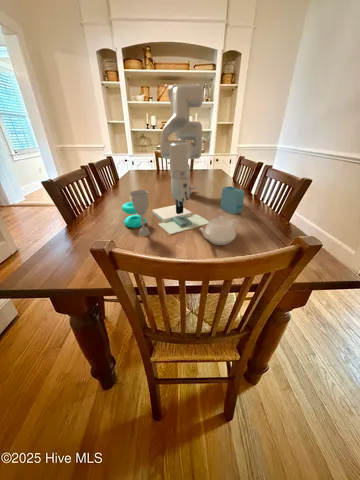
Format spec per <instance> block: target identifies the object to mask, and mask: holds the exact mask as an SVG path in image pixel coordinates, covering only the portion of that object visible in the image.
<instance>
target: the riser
mask: <svg viewBox="0 0 360 480" xmlns="http://www.w3.org/2000/svg"><path fill="white" fill-rule="evenodd" d="M151 213H152V215H153V216H155V218H157V219H158V220H159V221H160V222H161V223H163V222H167V221H171V220H172V217H177V216H181V215H183V216H185V217H187V216H191V215H193V212H192V211H190V210H188V209H186V208H185V207H183V213H181V214H177V213H176V205H175V204H174V205H169V206H163V207H160V208H155V209H154V208H153V209H151Z"/></svg>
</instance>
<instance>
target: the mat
mask: <svg viewBox="0 0 360 480" xmlns="http://www.w3.org/2000/svg"><path fill="white" fill-rule="evenodd" d="M186 218H187V219H189V220H190V221H192V225H189V226H185V227H181V228H180V227H179V226H178V225H177V224H176V223H174V222H173V221H172V220H171V221H167V222H159V223H157V225H158V226H159V227H160V228H161V229H163V230H164V231H165V232H166V233H167V234H168V235H170V236H171V235H173V234H177V233H181V232H184V231H189V230H191V229H196V228H199V227H202V226H207V224H208V222H209V221H210V220H207V219H206V218H204V217H203V216H200V215H199V214H197V213H196V214H192V215H191V216H187V217H186Z"/></svg>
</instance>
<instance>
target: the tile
mask: <svg viewBox="0 0 360 480" xmlns="http://www.w3.org/2000/svg"><path fill="white" fill-rule="evenodd" d="M172 221H173V222H174V223H176V224H177V225H178V226H179V227H180V228H181V227H185V226H189V225H192V221H190V220H189V219H187V218H186V217H185V216H183V215H181V216H177V217H172Z"/></svg>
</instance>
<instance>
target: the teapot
mask: <svg viewBox="0 0 360 480" xmlns="http://www.w3.org/2000/svg"><path fill="white" fill-rule="evenodd" d="M208 221H209V222H208V224H206V225H205V228H204V227H200V228H199V231H201V233H202V234H203V237H204V239H206V240H207V241H208V242H209V243H210V244H212V245H216V246H226V245H229V244H230V243H231V242H233V241H234V240H235V239H236V237H237V236H236V235H237V234H236V233H237V232H236V227H237V226H238V223H239V221H238V219H236V218H232V219H230V218H227V217H225V216H224V215H219V216H218V217H214V218H211V219H210V220H208Z"/></svg>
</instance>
